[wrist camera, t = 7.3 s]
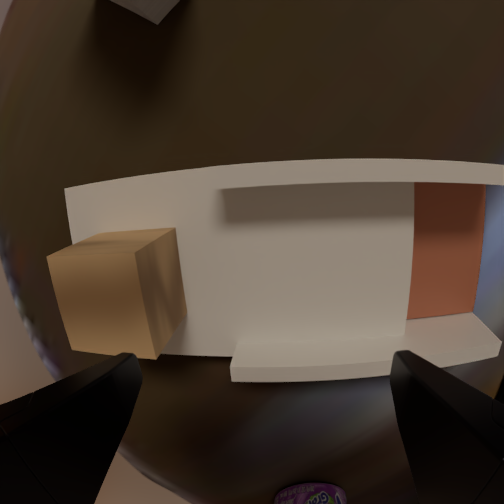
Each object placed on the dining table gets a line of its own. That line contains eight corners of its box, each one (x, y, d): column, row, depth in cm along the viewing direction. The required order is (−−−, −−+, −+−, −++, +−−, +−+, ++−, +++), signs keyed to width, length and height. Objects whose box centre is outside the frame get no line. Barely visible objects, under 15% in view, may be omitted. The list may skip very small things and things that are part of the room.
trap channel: (468, 323, 19) (497, 356, 14) (111, 334, 22) (80, 366, 18) (482, 163, 16) (524, 167, 12) (82, 185, 19) (38, 193, 15)
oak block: (187, 312, 18) (156, 359, 14) (114, 310, 19) (72, 349, 14) (175, 227, 17) (134, 252, 12) (99, 233, 18) (46, 256, 13)
